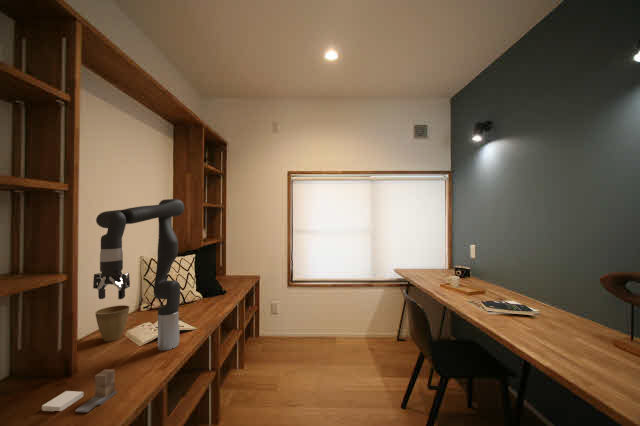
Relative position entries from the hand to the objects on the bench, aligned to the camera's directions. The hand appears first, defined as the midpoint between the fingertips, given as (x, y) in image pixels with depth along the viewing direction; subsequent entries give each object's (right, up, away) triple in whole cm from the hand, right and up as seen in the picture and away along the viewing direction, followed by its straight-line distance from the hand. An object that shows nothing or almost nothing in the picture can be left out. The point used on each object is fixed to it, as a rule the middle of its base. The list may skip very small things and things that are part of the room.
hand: (111, 298), depth 112 cm
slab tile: (-4, -31, -12) cm, 34 cm away
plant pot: (-27, -33, +36) cm, 56 cm away
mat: (+7, -32, -14) cm, 35 cm away
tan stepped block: (+7, -31, -16) cm, 36 cm away
